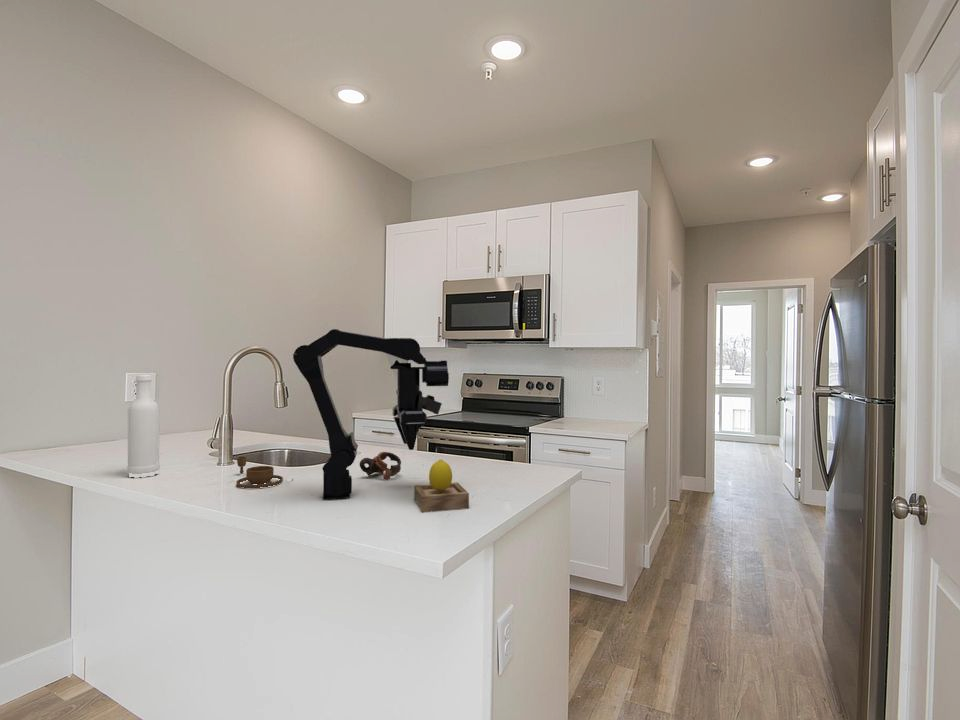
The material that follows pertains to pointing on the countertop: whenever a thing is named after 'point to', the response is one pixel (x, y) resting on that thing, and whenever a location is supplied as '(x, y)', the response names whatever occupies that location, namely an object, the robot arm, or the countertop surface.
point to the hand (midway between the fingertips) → (408, 446)
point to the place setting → (257, 475)
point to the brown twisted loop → (381, 465)
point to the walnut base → (441, 497)
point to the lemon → (440, 476)
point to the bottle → (143, 429)
